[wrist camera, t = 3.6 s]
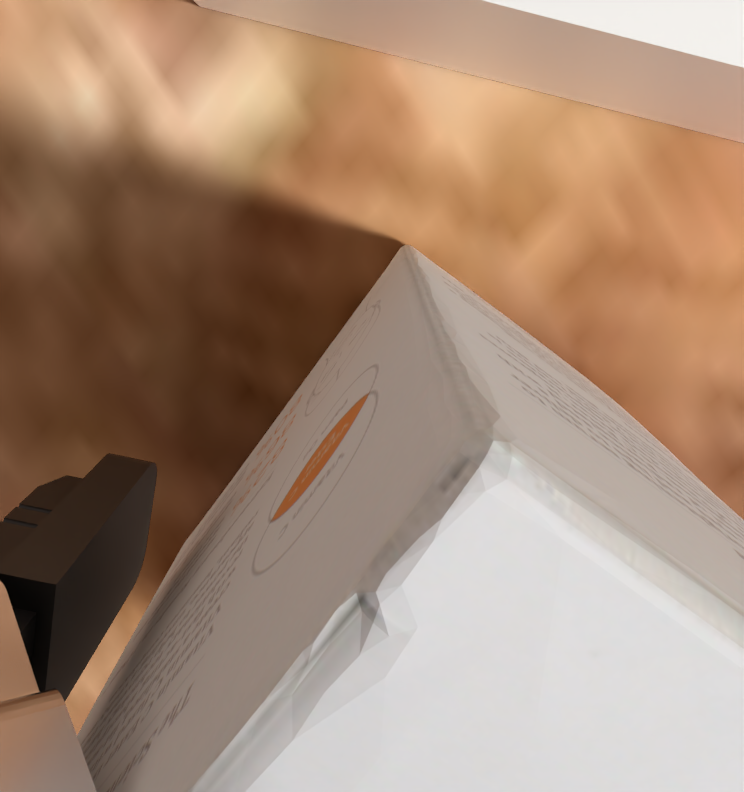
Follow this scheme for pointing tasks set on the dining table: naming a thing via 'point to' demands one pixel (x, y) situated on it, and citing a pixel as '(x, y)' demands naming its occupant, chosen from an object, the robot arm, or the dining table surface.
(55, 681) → the robot arm
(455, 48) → the white wall
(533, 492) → the small box
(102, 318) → the dining table surface
